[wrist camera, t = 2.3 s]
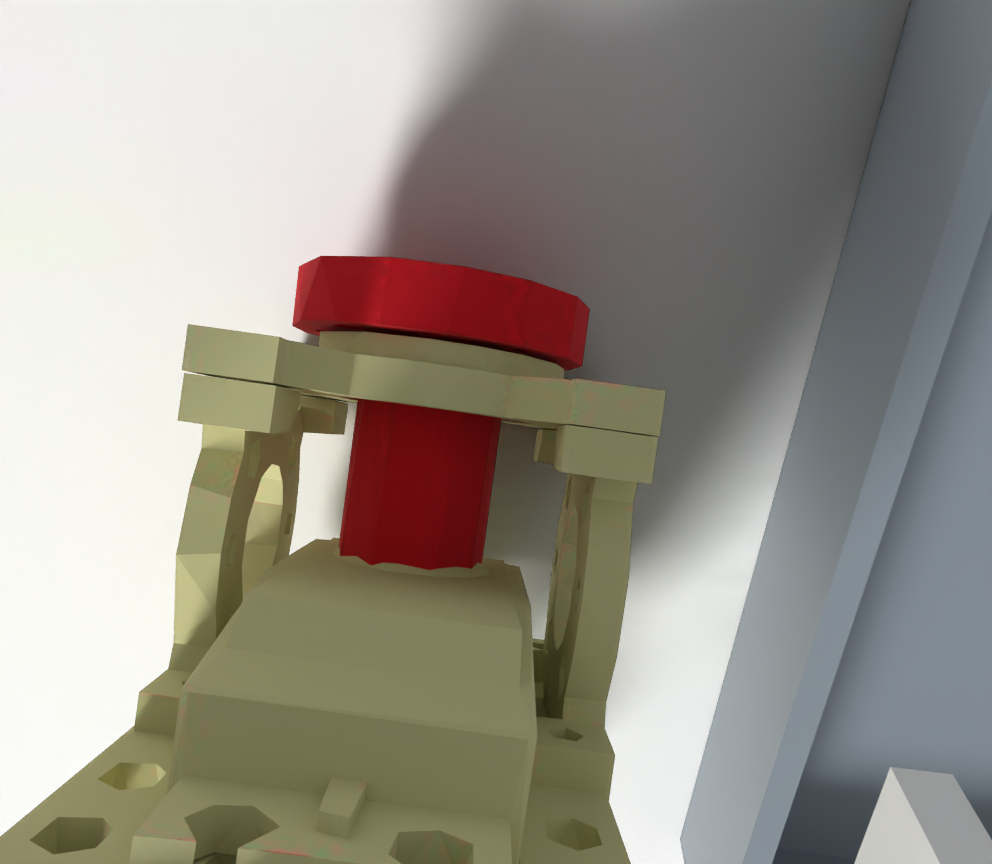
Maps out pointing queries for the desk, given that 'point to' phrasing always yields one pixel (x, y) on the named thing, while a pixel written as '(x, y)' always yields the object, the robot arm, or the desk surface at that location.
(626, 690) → the desk surface
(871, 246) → the parts bin
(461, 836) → the mechanical component
